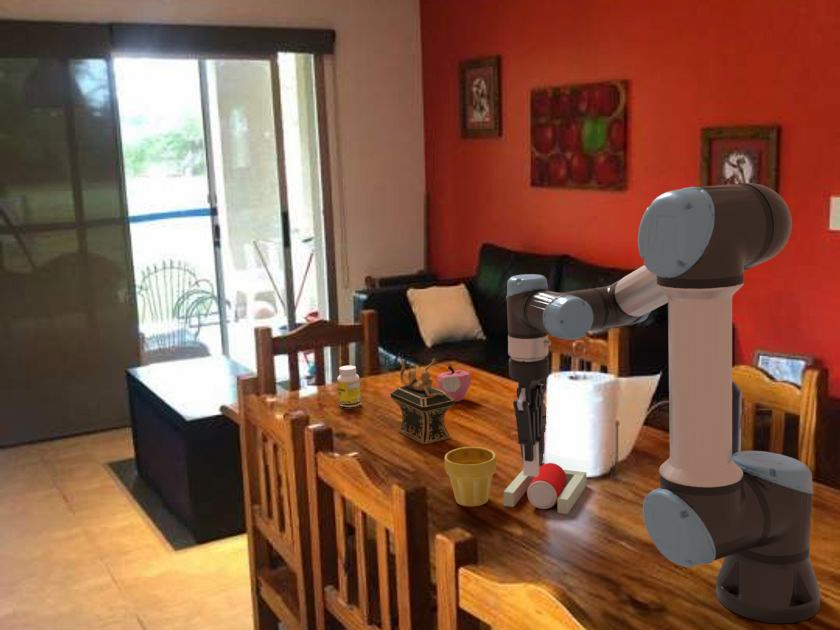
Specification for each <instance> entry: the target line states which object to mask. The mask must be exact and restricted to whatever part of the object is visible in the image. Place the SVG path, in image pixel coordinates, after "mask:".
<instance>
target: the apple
mask: <svg viewBox="0 0 840 630" xmlns="http://www.w3.org/2000/svg"><path fill="white" fill-rule="evenodd" d="M447 369H448V370H449V371H444V372H441V373H440V374H438V377H437V387H438V388H437V389H438V390H441V391H443V392H445V393H447V394H448V395H449V396H450V397H452V398H453V399H454V401H455V403H459V402H461V401H462V400H464V398H465V396H466V394H467V392H468V390H469V389H470V387H471V384H472V375H471V373H470V372H469V371H466V370H462V369H457V370H454V368H453V367H452V365H450V364H449V365H448V366H447Z"/></svg>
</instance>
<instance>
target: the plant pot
mask: <svg viewBox="0 0 840 630" xmlns="http://www.w3.org/2000/svg"><path fill="white" fill-rule="evenodd" d="M444 468H445V473H446V475H447V476H449V479H450V483H451V487H452V490H453V491H452V492H453V494H454V499H455V501H456V504H458V505H459V506H463V507H470V508H471V507H479V506H482V505H484V504H487V503H488V501H489V498H490V494H491V487H492V483H493V482H492V481H493V475H494V474H495V473H496V471H497V455H496V453H495V452H494V451H493V450H492V449H489V448H486V447H479V446H464V447H458V448H455V449H452V450H450V451H448V452H447V453H445V455H444Z"/></svg>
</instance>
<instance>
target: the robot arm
mask: <svg viewBox="0 0 840 630" xmlns="http://www.w3.org/2000/svg"><path fill="white" fill-rule="evenodd" d="M792 221H793V220H792V214H791V212H790V209H789V206H788V205H787V203H786V201H785V200H784V198H783V197H782V196H781V195H780V194H779V193H777V192H776V191H775V190H773V189H772V188H770V187H768V186H765V185H763V184H760V183H754V182H743V183H735V184H721V185H707V186H689V187H683V188H680V189H675V190H674V189H673V190H670V191H665V192H664V193H662V194H660V195H658V196H657V197H656V198H655V199H654V200H653V201H652V202H651V204H650V205H649V206H648V207H647V208H646V210H645V211H644V214H642V218H641V220H640V224H639V227H638V235H637V247H638V252H639V257H640V258H641V259H642V260H644V261H643V265H642V266H640V267H639V268H637V269H636V270H634V271H632V272H631V273H629V274H627V275H625V276H624V277H622V278H621V279H619V280H617V281H616V282H613V283H612V284H611V285H607V286H601V287H594V288H588V289H587V288H586V289H580V290H572V291H566V292H557V291H552V290H549V285H548V279H547V278H546V276H545V275H542V274H535V273H534V274H533V273H531V274H529V273H528V274H527V273H525V274H518V275H517V274H516V275H513V276H511V277H510V278H508V280H507V282H506V283H507V285H506V286H507V288H506V289H507V291H506V296H505V297H506V312H507V313H506V317H507V332H508V334H507V342H508V343H507V354H508V356H509V359H508V376H509V378H511V379H513V380H516V381H517V382H518V387H517V388H516V397H517V399H513V402H512V404H513V409H514V412H515V413H516V416H515V420H516V428H517V438H518V441H517V444H519V445H520V444H523V461H522V465H523V467H522V468H523V469H522V470H523V473H524V475H525V476H534V477H537V476H538V475H539V467H540V466H539V442H537V441H543V437H539V435H541V434H542V419H543V402H544V396H545V389H546V386H545V383H544V384H543V383H541V381H542V380H544V379H547V378H548V377H549V376H550V358H548V355H549V346H551V345H552V342H551V340H550V339H549V335H551V336H552V337H555V338H558V339H562V340H570V341H577V340H579V339H581V338H583V337H584V336H585V335H586V334H587V333H589V332H592V331H593V332H594V331H597V330H599V331H600V330H602V329H610V328H617V327H622V326H625V327H627V326H632V325H635V324H637V323H642V322H644V321H646V320H647V319H648V317H649V315H650V314H651V312H652V311H654V310H657V308H659V307H661V306H664V305H666V304H667V311H668V312H667V314H668V315H667V318H668V319H667V321H668V322H667V323H668V324H667V325H668V326H667V327H668V333H667V334H668V392H669V393H668V398H669V399H668V402H669V403H668V405H669V413H668V414H669V458H668V459H666V461H664V462H663V463H662V464H661V465H660V467H659V470H658V471H659V473H658V474H659V487H658V488H656V489H655V488H654V489H652V490H651V491H649V493H648V494H647V495H646V496H645V498H644V499H643V504H642V516H643V522H644V526H645V528H646V532H647V533H648V536H649V537H650V539H651V541H652V542H653V543H654V545H655V547H656V548H657V550H658V551H659V552H660V553H661V554H662V555H663V556H664V557H665V558H666V559H667V560H669V562H671V563H673V564H675V565H677V566H680V567H685V568H690V567H691V568H692V567H696V566H699V565H709V564H712V563H713V562H714V561H717V560H721V559H723V561H722V563H721V567H720V569H719V571H718V574H717V576H716V583H715V587H716V589H715V595H716V597H717V599H718V601H719V602H720V603H721V604H722V605H723V606H724V607H725V608H726V609H728V610H730V611H731V612H733V613H735V614H737V615H739V616H741V617H744V618H747V619H750V620H754V621H757V622H764V623H771V624H794V623H799V622H804V621H807V620H809V619H811V618H813V617H814V616H816V615H817V613H819V611H820V607H821V590H820V586H819V584H818V579H817V577H816V574H815V570H814V567H813V565H812V562H811V561H812V560H811V557H810V549H811V547H810V546H811V531H812V530H811V529H812V510H813V509H812V508H813V507H812V505H813V494H814V489H813V474H812V472H811V470H810V468H809V467H808V466H807V465H806V463H803V462H802V461H800V460H798V459H796V458H793V457H790V456H787V455H784V454H779V453H775V452H771V451H762V450H741V451H740V452H737V453H735V454H733V455H732V381H733V296H734V295H735V294H736V293H737V292H738V291H739V290H740V289H741V288H742V287H743V286H744V284H745V280H744V277H745V271H747V270H750V269H751V268H754V267H756V266H758V265H760V264H763V263H764V262H767V261H769V260H772V259H773V258H774V257H776V256H777V255H778V254H779V253H781V251H783V249H785V246H786V245H787V243H788V241H789V239H790V236H791V233H792V225H793V222H792ZM515 413H514V414H515Z"/></svg>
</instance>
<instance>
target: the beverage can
mask: <svg viewBox="0 0 840 630" xmlns="http://www.w3.org/2000/svg"><path fill="white" fill-rule="evenodd" d="M539 467H540V468H539V475H538V476H537V477H534V478H533V480H532V482H531V483H530V485H529V487H528V490H527V491H526V495H527V498H528V501H529V503H530V504H531V505H533V507H535V508H537V509H540V510H548V509H551V508H553V507H554V506H555V505H556V504H557V498H558V497H559V495H560V494H561V493H562V491H563V490H564V489H565V487H564V486H565V483H566V474H565V472H564V470H565V469H563V468H562V467H561V466H560V465H559V464H556V463H554V462H546V463H543V464H542V465H541V466H539Z"/></svg>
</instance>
